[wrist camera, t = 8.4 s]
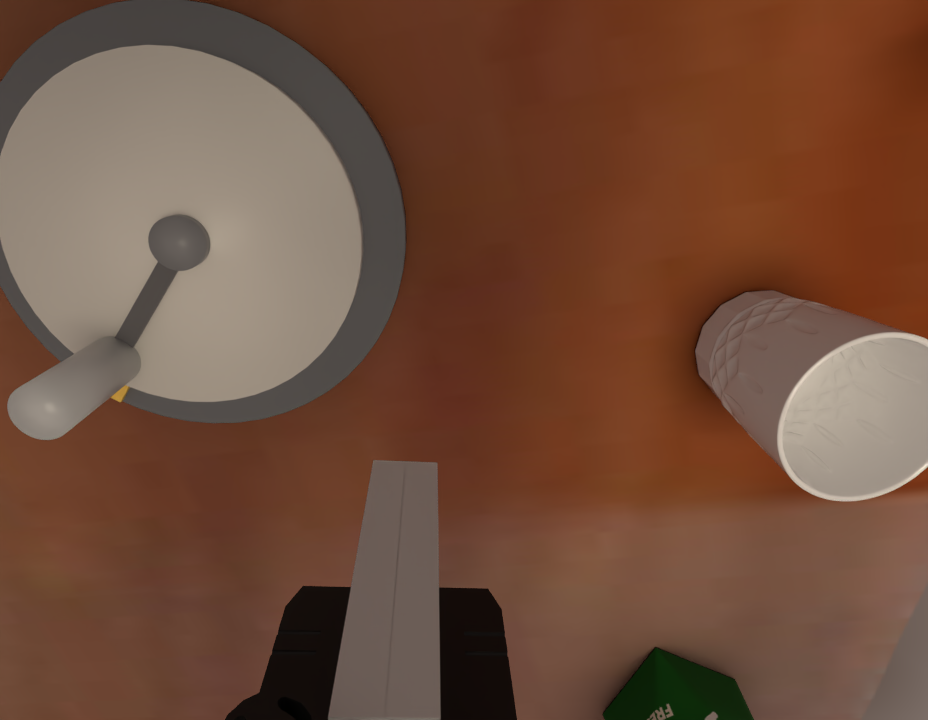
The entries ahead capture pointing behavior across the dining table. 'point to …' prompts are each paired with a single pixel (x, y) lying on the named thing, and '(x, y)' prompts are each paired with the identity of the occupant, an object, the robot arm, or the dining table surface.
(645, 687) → the milk carton
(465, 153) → the dining table surface
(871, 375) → the white cup
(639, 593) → the dining table surface
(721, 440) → the dining table surface
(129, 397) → the stand base
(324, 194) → the cream crank wheel
